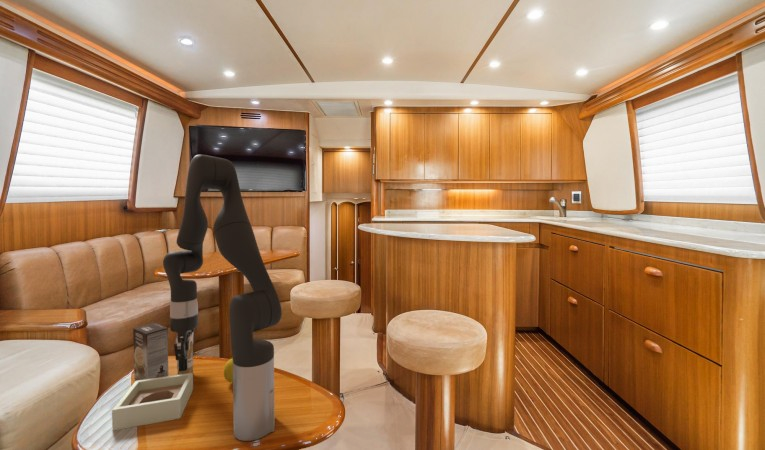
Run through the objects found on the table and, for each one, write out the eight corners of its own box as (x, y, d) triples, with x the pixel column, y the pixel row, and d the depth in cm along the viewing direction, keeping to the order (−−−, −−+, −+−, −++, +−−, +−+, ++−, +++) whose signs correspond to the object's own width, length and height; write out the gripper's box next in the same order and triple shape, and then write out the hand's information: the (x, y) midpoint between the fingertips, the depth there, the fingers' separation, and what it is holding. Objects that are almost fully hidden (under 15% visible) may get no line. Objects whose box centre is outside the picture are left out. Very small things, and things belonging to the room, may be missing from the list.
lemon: (247, 381, 98) (247, 356, 98) (230, 389, 93) (230, 363, 93) (236, 376, 101) (236, 351, 100) (220, 384, 96) (219, 358, 96)
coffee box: (133, 377, 100) (131, 327, 99) (155, 369, 105) (154, 321, 105) (146, 386, 95) (145, 333, 94) (170, 376, 100) (169, 327, 100)
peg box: (193, 389, 93) (192, 372, 93) (180, 418, 80) (179, 399, 80) (136, 398, 89) (135, 380, 88) (112, 430, 75) (112, 410, 75)
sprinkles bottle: (194, 377, 100) (193, 335, 99) (176, 382, 97) (176, 339, 97) (193, 371, 104) (192, 331, 103) (176, 375, 101) (176, 334, 101)
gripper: (192, 319, 94) (193, 375, 95) (202, 306, 108) (203, 355, 108) (163, 322, 92) (164, 380, 92) (177, 308, 105) (177, 358, 106)
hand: (185, 366), depth 100 cm, fingers closed on sprinkles bottle, 4 cm apart
